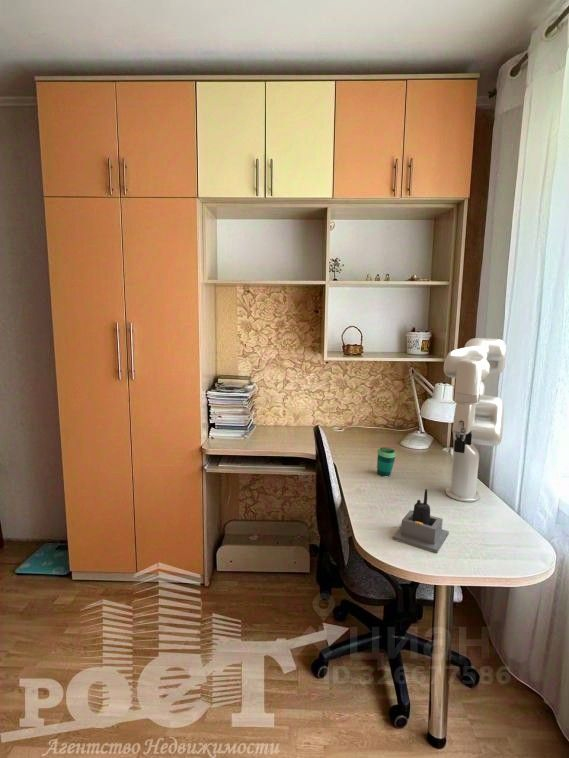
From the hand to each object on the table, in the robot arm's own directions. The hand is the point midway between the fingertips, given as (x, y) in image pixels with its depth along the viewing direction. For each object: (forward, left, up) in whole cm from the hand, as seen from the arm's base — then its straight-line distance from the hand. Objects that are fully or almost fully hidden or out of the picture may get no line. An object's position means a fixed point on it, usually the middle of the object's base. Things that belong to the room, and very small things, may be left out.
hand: (462, 448), depth 144 cm
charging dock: (+14, -8, -28) cm, 32 cm away
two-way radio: (+14, -8, -27) cm, 32 cm away
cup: (-30, -37, -28) cm, 55 cm away
